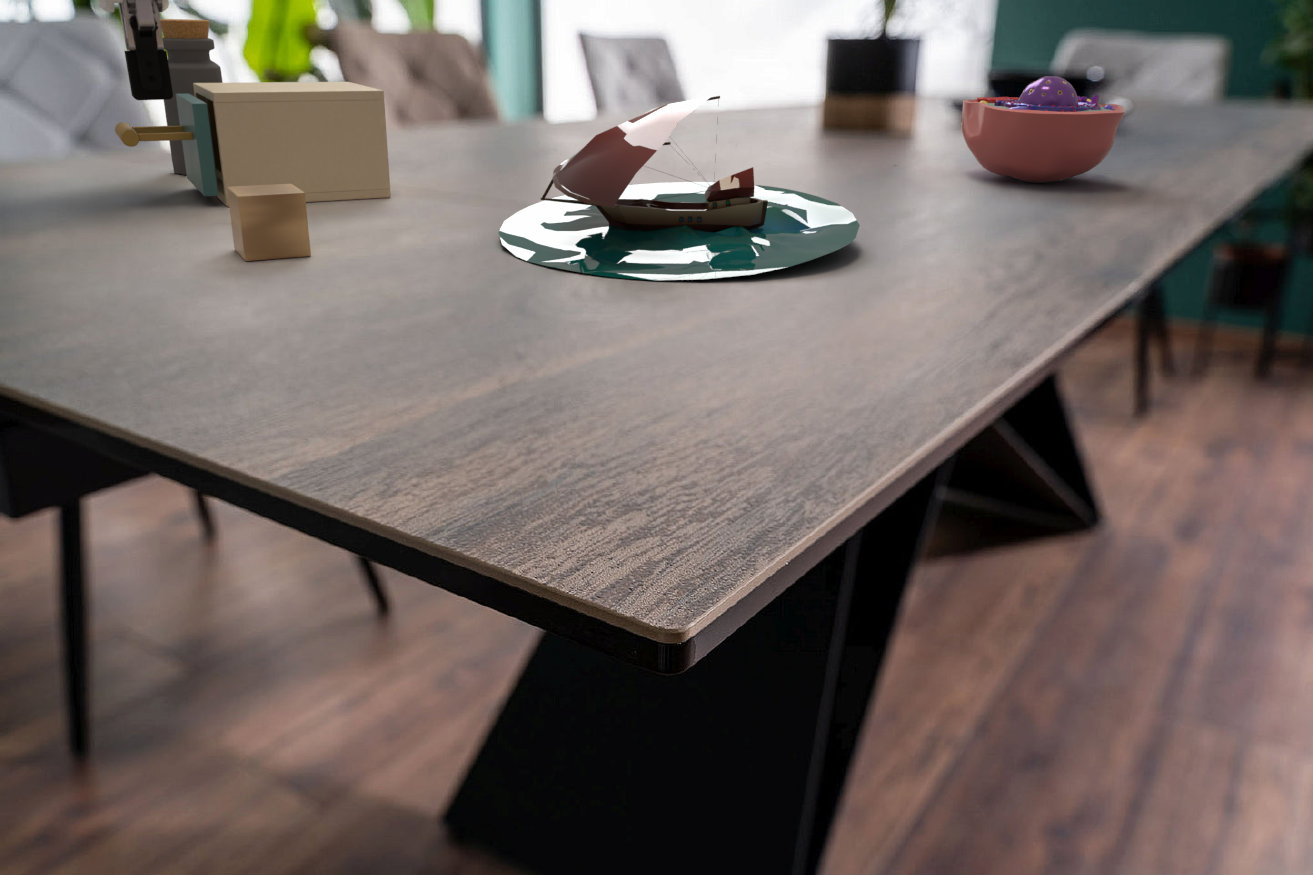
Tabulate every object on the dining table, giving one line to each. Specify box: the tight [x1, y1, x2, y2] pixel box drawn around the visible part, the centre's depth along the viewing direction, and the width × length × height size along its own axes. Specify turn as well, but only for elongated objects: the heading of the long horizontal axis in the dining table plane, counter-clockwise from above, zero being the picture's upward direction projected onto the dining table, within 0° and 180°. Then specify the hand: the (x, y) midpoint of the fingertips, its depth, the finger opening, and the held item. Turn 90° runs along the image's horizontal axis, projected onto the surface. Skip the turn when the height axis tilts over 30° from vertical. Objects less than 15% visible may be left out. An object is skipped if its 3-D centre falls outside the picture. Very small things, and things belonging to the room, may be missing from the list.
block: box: [227, 184, 312, 262], centre depth 77 cm, size 4×4×4 cm
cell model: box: [960, 75, 1127, 184], centre depth 121 cm, size 17×20×11 cm
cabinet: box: [193, 81, 392, 208], centre depth 101 cm, size 15×13×10 cm
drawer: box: [114, 94, 223, 197], centre depth 99 cm, size 19×11×8 cm, turn 119°
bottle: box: [160, 18, 224, 176], centre depth 111 cm, size 6×6×15 cm
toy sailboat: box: [498, 95, 860, 281], centre depth 83 cm, size 28×28×11 cm
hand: (153, 98), depth 95 cm, fingers closed
